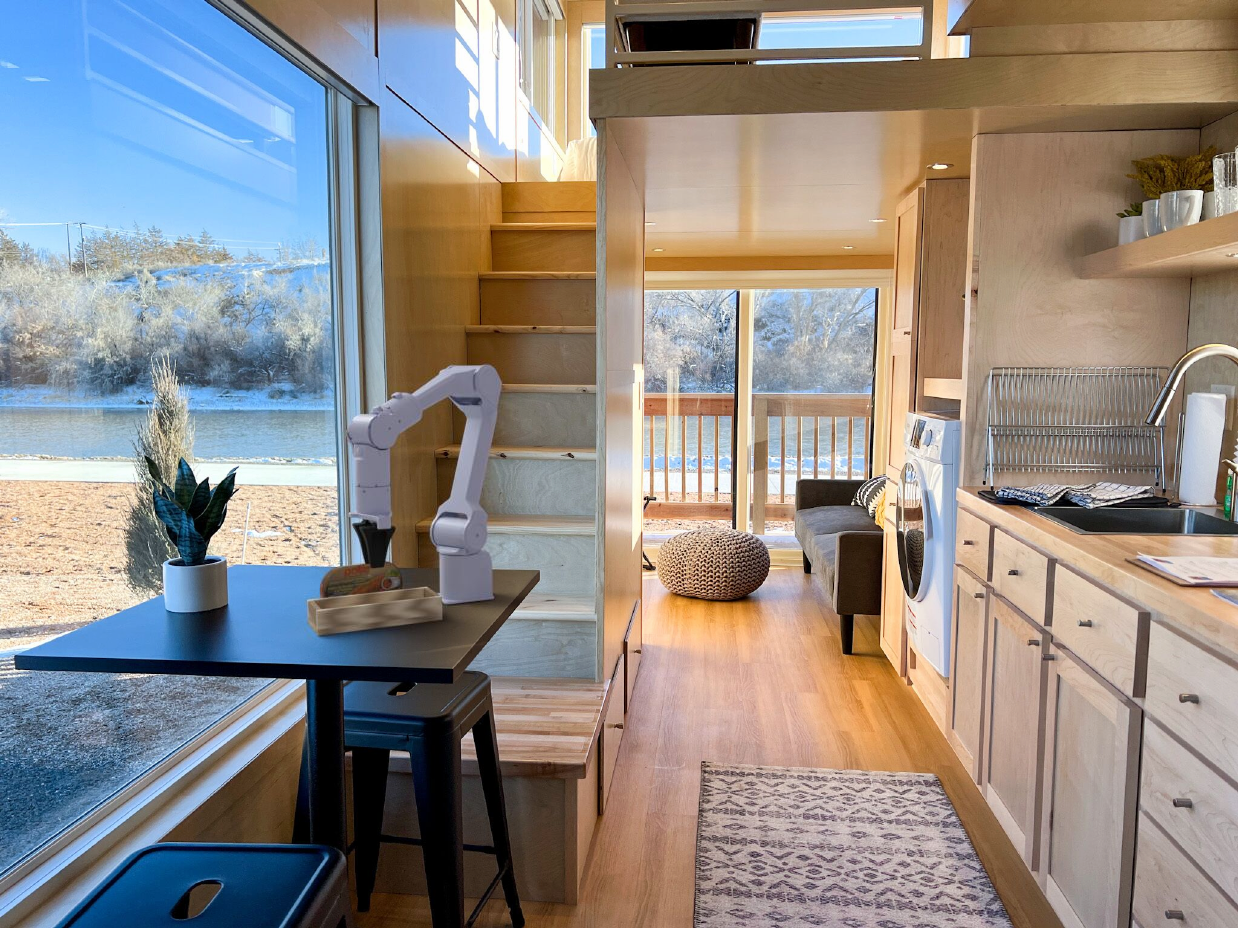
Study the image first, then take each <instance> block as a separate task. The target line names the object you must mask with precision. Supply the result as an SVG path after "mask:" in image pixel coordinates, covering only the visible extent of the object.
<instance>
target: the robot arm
mask: <svg viewBox="0 0 1238 928" xmlns="http://www.w3.org/2000/svg"><path fill="white" fill-rule="evenodd" d="M438 373H439V374H438V375H436V376H435V377H433V378H432V379H431V380H429V381H428V382H427V383H426V384H424V385H422V386H421V387H420V388H418V389H417V390H416V391H414V392H413V393H408V392H397V391H396V392H394V393H393V394H391V399H389V400H388V401H386V402H384V403H382V404H381V405H374V406H373V407H372V408H371V411H369V414H368V413H360V414H357V415H356V416H353V418H352V419H351V421H350V423H349V424H348V430H346V431H345V435H346V439H347V441H348V443H349V444H350V446H351V450H352V452H351V453H352V455H353V457H354V486H355V487H354V489H355V490H354V491H355V492H354V493H355V495H354V497H355V511H351V512H348V514H347V515H348V516H347V517H349V518H351V519H352V518H353V519H354V518H356V519H360V520H361V521H360V522H352V524H351V525H352V528H353V529H354V532H355V534H356V536H357V538H358V542H359V544H360V549H361V554H362V557H363V561H364V562H363V563H365V564H370V567H371V568H382V567H384V565H385V561H387V554H388V550H389V546H390V543H391V540H392V538H393V536H394V534H395V532H396V529H397V527H396V526H394V525H392V520H391V519H392V516H393V510H392V505H391V504H392V503H391V497H392V494H391V451H390V450H391V447H393V446H394V445H395V443H396V442H397V439H398V436H399V435H400V434H401V433H403V432H404V431H406V430H407V429H409V428H410V427H413V426H414V425H416V423H418V422H420V421H421V419H422V417H423V411H425V410H427V409H428V408H430V407H432V406H433V405H435V404H437V403H439V402H441V401H442V400H444V399H446V398H449V399H450V400H451V401H452V403H453V404H454V405H455V406H456V407H457V408H458V409H459V410H460V411H461V412H463V413H464V415H465V417H466V422H465V427H464V432H463V437H462V441H461V446H460V450H459V455H458V460H457V465H456V469H455V473H454V479H453V481H452V482H453V483H452V488H451V492H450V497H449V498H448V499H447V500H445V502H442V503H443V504H441V505H439V507H438V509H437V514H436V515H435V518H434V519H433V521H432V523H431V525H430V529H429V531H430V532H429V537H430V541H431V543H432V544H433V545H434V546H435V547H436V552H437V553H439V592H436V593H437V594H439V595H440V596H442V604H444V605H455V604H456V605H457V604H463V603H470V602H471V603H472V602H477V601H478V602H479V601H480V602H481V601H488V600H494V599H495V596H494V594H493V593H494V592H493V589H494V588H493V561H492V556H491V554H490V552H489V551H488V550H486V549H484V550H483V548H484V547H485V544H486V543H487V540H488V527H487V526H488V525H487V523H488V518H489V515H488V513H487V512H486V511H485V510H484V509H483V507H482V506H481V505H480V500H481V495H482V490H483V485H484V480H485V475H486V471H487V466H488V462H489V458H490V451H491V447H492V442H493V439H494V438H493V437H494V433H495V427H496V423H497V419H498V405H499V400H500V395H501V391H502V384H503V381H502V380H501V378H500V376H499V374H498V371H497V369H495V367H494V366H493V365H490V364H482V365H456V364H451V365H449V366H447V367H446V368H444V369H441V370H440V371H439V372H438Z"/></svg>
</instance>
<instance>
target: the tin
mask: <svg viewBox="0 0 1238 928" xmlns="http://www.w3.org/2000/svg"><path fill="white" fill-rule="evenodd" d="M319 584H320V585H319V596H320V598H329V597H338V596H347V595H356V594H366V593H375V592H384V591H393V590H402V589H403V585H404V579H403V575H402V573H401V570H400V569H399V567H398V566H397V565H395V564H394V563H392V562H391V561H387V560H386V561H385V565H384V567H382V568H371V567H370V564H365V562H362V563H355V564H348V565H340V566H337V567H334V568H332V569H330V570H329V571H327V572H326V574H325V575H324V576H323V578H322V579H321V582H320V583H319Z"/></svg>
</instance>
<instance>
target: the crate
mask: <svg viewBox="0 0 1238 928" xmlns="http://www.w3.org/2000/svg"><path fill="white" fill-rule="evenodd" d="M437 593H438V592H436V591H434V590H433V589H431V588H430V587H428V586H423V587H422V586H421V587H412V588H405V589H403V588H402V590H393V591H384V592H375V593H366V594H356V595H347V596H338V597H329V598H321V597H320V598H312V599H307V600H306V602H307V604H306V607H307V625H309V627H310V628H311V629H312V630H313V632H314V633H315V634H316V635H317V636H326V635H333V634H342V633H348V632H358V631H364V630H372V629H373V630H374V629H380V628H388V627H396V626H397V627H398V626H404V625H411V624H419V623H426V622H434V621H442V620H443V602H442V596H440V595H439V594H437Z"/></svg>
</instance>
